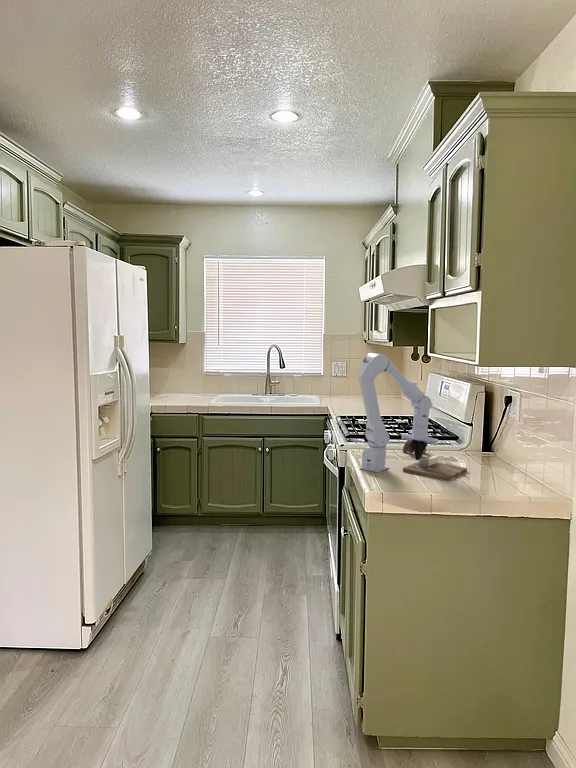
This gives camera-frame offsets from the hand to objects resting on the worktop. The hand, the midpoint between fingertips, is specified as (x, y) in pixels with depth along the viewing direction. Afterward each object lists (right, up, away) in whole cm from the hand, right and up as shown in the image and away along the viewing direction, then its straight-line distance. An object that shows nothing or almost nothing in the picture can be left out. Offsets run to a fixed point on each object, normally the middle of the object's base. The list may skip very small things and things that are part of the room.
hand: (418, 459), depth 223 cm
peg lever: (+3, -1, -4) cm, 5 cm away
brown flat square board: (+5, -4, -6) cm, 9 cm away
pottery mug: (+3, -1, +24) cm, 24 cm away
